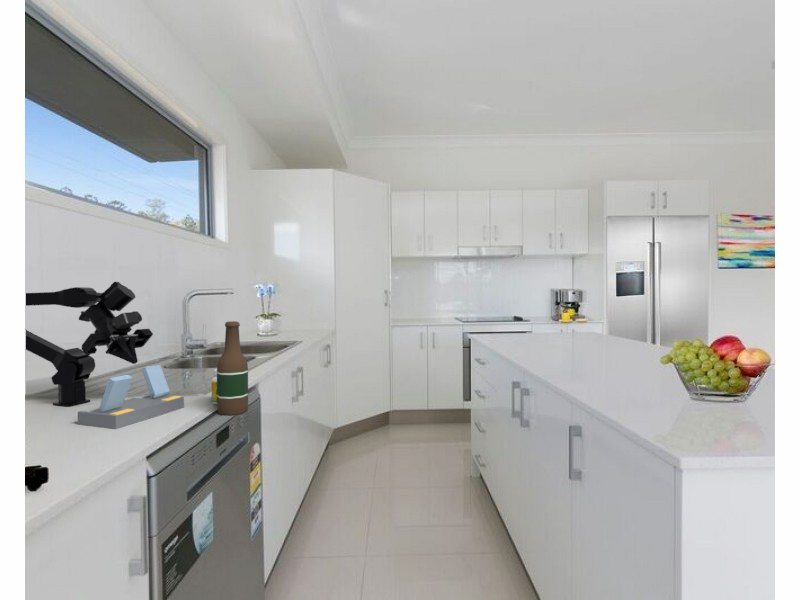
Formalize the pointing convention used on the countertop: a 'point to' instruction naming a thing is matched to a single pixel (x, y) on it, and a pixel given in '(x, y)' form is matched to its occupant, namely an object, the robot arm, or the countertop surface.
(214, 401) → the supplement bottle
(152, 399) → the switch panel
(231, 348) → the beer bottle
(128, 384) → the upright blue panel
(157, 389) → the panel
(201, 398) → the countertop surface
